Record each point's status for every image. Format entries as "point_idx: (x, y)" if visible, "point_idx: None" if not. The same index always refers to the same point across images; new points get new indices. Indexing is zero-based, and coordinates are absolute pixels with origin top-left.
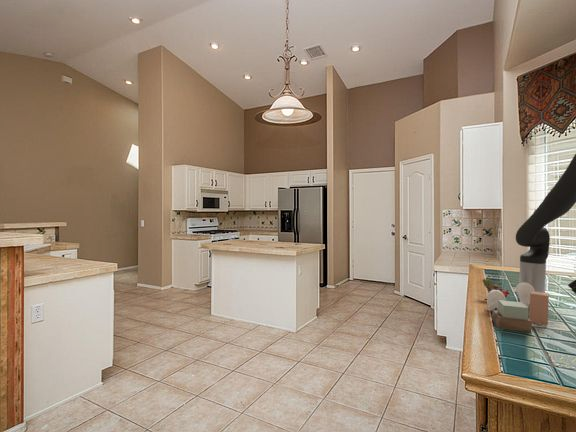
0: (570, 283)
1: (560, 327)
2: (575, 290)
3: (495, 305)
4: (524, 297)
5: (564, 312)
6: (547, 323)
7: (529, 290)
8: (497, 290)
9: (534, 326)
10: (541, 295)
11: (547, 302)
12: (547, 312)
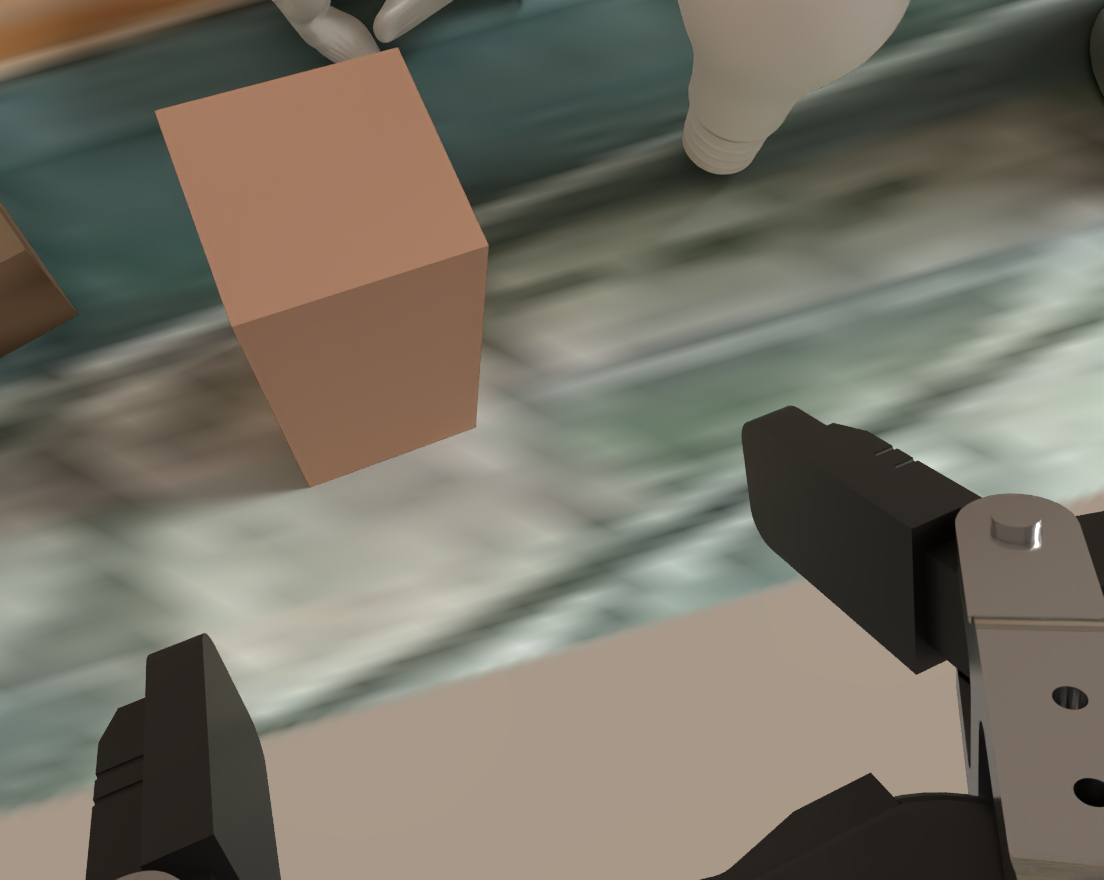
0: (778, 441)
1: (301, 615)
2: (120, 735)
3: None
4: (695, 51)
5: (1070, 430)
6: (309, 482)
7: (731, 10)
8: None
9: (63, 433)
10: (202, 244)
11: (256, 368)
12: (285, 431)
